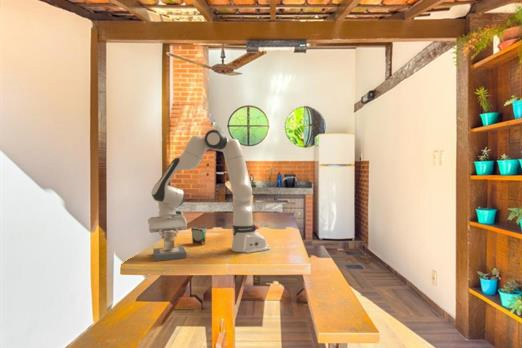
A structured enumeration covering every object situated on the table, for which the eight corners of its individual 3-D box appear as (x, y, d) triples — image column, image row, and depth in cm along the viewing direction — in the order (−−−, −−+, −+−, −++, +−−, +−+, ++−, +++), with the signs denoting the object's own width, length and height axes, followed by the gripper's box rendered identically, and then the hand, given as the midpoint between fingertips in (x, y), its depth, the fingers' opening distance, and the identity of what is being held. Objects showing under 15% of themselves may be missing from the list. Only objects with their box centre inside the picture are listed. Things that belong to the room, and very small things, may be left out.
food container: (211, 243, 212) (210, 227, 212) (203, 245, 207) (202, 229, 207) (199, 241, 220) (198, 225, 220) (191, 242, 216) (190, 227, 215)
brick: (173, 246, 187) (173, 229, 187) (174, 248, 183) (174, 231, 182) (164, 247, 186) (163, 230, 185) (164, 249, 181) (164, 232, 181)
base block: (182, 251, 194) (182, 245, 194) (186, 257, 179) (186, 251, 179) (153, 253, 189) (153, 248, 189) (154, 261, 174) (154, 255, 174)
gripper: (148, 214, 187) (148, 235, 178) (185, 211, 194) (188, 231, 185) (148, 221, 191) (148, 241, 182) (185, 218, 198) (187, 238, 189)
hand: (169, 236), depth 183 cm, fingers closed on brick, 5 cm apart
